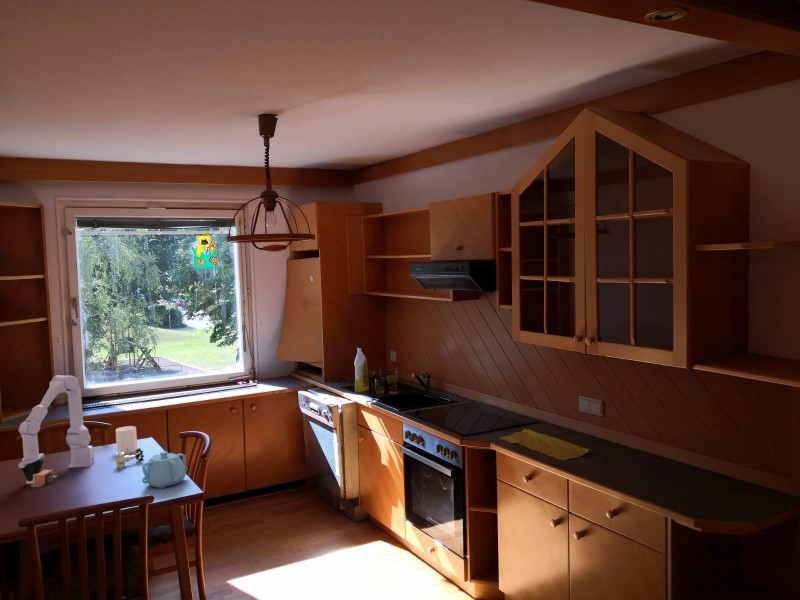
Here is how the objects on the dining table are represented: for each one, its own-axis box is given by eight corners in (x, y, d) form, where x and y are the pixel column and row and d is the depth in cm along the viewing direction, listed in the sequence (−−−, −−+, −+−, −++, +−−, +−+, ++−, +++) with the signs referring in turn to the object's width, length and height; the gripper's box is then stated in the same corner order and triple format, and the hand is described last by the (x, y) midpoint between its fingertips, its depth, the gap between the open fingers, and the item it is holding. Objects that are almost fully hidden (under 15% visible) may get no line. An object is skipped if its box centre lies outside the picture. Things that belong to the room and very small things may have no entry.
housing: (57, 477, 295) (56, 467, 295) (39, 487, 282) (39, 477, 282) (48, 477, 295) (48, 467, 295) (30, 487, 283) (30, 477, 282)
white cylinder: (133, 447, 338) (131, 425, 338) (142, 452, 330) (140, 429, 329) (114, 452, 332) (112, 429, 331) (123, 456, 323) (121, 433, 322)
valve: (120, 469, 303) (144, 462, 312) (119, 455, 302) (143, 448, 312) (113, 467, 307) (137, 460, 316) (112, 453, 307) (136, 446, 316)
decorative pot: (176, 490, 272) (174, 458, 271) (138, 490, 273) (136, 458, 272) (191, 477, 288) (190, 446, 287) (156, 477, 289) (154, 446, 288)
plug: (54, 480, 290) (53, 473, 290) (48, 483, 286) (48, 476, 286) (32, 480, 291) (32, 474, 291) (26, 483, 287) (26, 477, 287)
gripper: (32, 443, 296) (34, 473, 297) (10, 453, 281) (13, 484, 282) (47, 443, 295) (49, 473, 296) (26, 453, 281) (29, 484, 282)
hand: (33, 479), depth 289 cm, fingers closed on plug, 4 cm apart
